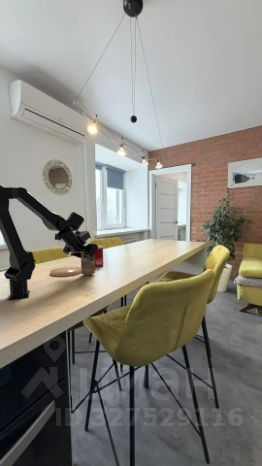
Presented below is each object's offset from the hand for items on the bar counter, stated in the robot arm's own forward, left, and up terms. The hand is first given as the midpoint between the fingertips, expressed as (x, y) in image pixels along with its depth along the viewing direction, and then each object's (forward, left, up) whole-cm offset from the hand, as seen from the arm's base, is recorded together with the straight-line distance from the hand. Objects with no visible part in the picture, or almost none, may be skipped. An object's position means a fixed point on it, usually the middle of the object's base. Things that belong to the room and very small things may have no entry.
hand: (89, 259), depth 106 cm
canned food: (+17, -7, -7) cm, 20 cm away
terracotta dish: (+9, +10, -7) cm, 16 cm away
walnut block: (-1, +1, -7) cm, 7 cm away
